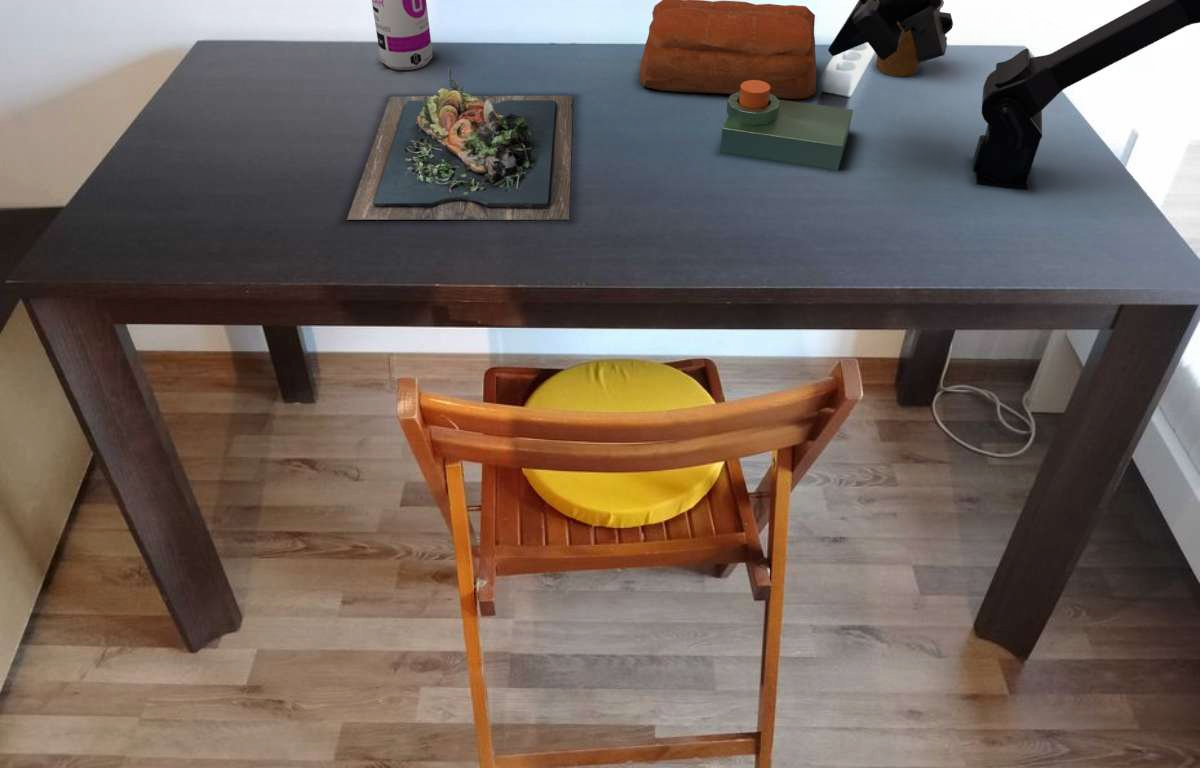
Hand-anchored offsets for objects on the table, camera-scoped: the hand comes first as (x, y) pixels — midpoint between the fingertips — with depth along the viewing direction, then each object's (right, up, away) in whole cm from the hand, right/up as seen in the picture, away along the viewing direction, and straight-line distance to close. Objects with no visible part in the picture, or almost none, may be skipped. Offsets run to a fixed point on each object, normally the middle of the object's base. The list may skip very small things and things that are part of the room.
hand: (830, 52), depth 126 cm
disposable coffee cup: (+17, +7, +28) cm, 34 cm away
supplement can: (-60, +9, +31) cm, 68 cm away
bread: (-10, +5, +26) cm, 28 cm away
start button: (-9, -4, +8) cm, 12 cm away
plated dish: (-47, -11, +8) cm, 49 cm away
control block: (-4, -9, +10) cm, 14 cm away
